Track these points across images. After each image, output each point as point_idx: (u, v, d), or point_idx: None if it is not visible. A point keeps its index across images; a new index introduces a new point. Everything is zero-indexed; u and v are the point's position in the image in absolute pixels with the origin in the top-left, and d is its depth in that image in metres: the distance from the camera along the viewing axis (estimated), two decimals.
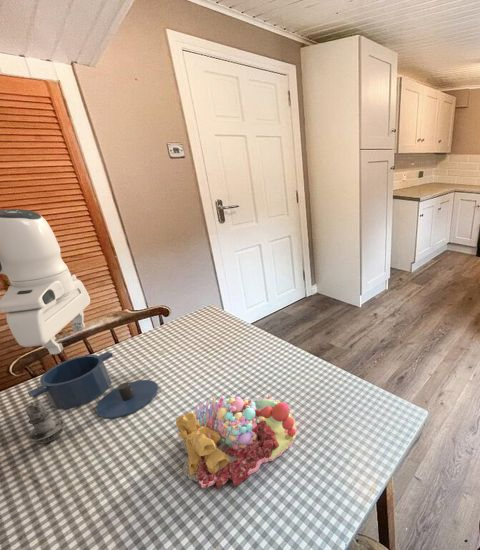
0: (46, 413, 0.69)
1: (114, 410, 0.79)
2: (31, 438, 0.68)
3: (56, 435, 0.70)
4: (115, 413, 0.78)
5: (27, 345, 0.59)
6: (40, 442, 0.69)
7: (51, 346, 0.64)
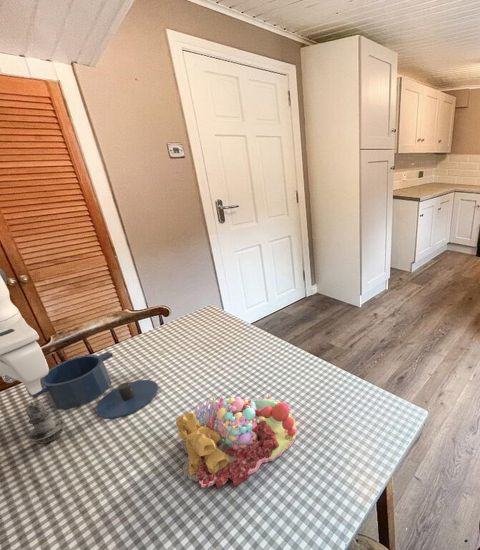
0: (46, 413, 0.69)
1: (114, 410, 0.79)
2: (31, 438, 0.68)
3: (56, 435, 0.70)
4: (115, 413, 0.78)
5: (34, 379, 0.60)
6: (40, 442, 0.69)
7: (34, 384, 0.63)
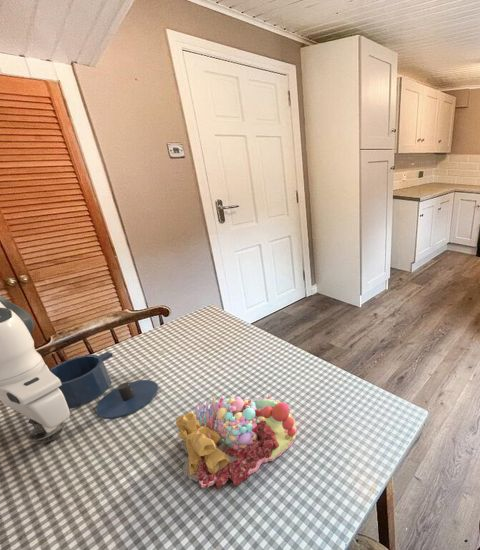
0: None
1: (114, 410, 0.79)
2: (31, 438, 0.68)
3: (56, 435, 0.70)
4: (115, 413, 0.78)
5: (57, 424, 0.64)
6: (40, 442, 0.69)
7: None
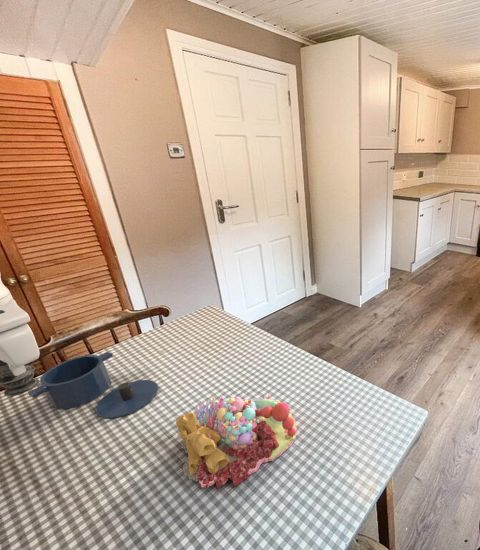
0: None
1: (114, 410, 0.79)
2: None
3: (26, 380, 0.64)
4: (115, 413, 0.78)
5: (24, 362, 0.58)
6: (7, 386, 0.63)
7: None
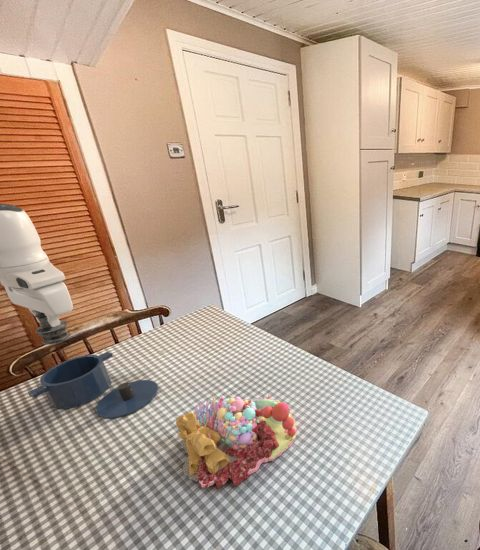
0: None
1: (114, 410, 0.79)
2: (37, 331, 0.75)
3: (60, 332, 0.77)
4: (115, 413, 0.78)
5: (61, 313, 0.71)
6: (45, 336, 0.75)
7: (54, 318, 0.75)
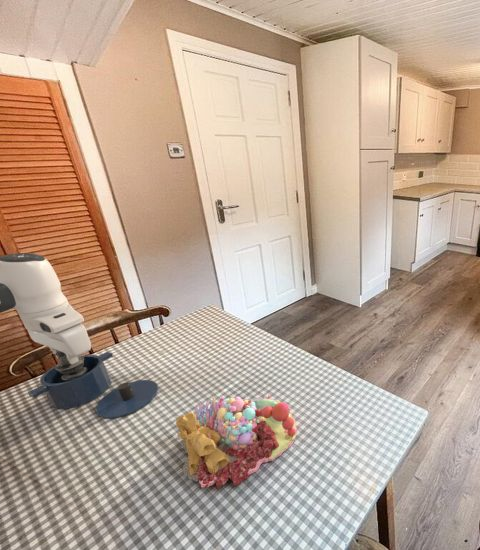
0: None
1: (114, 410, 0.79)
2: (57, 368, 0.80)
3: (78, 368, 0.82)
4: (115, 413, 0.78)
5: (80, 353, 0.76)
6: (65, 372, 0.80)
7: (73, 356, 0.80)
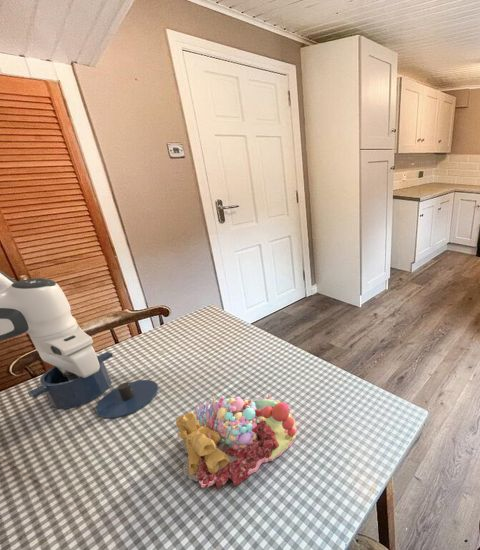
0: None
1: (114, 410, 0.79)
2: None
3: None
4: (115, 413, 0.78)
5: (90, 374, 0.78)
6: None
7: None
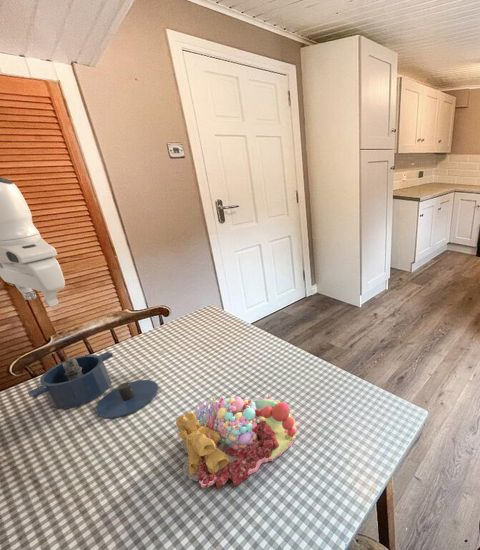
0: (78, 367, 0.83)
1: (114, 410, 0.79)
2: None
3: None
4: (115, 413, 0.78)
5: (53, 289, 0.69)
6: None
7: (52, 297, 0.72)
